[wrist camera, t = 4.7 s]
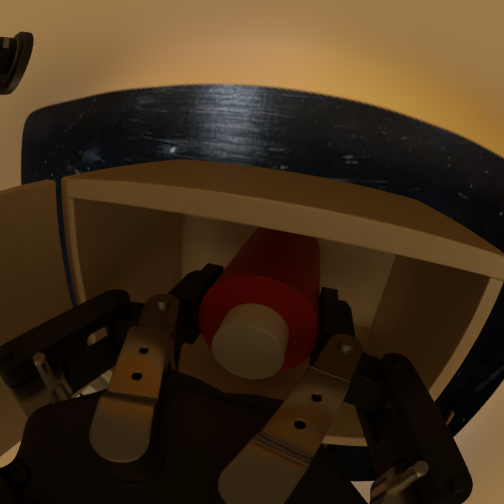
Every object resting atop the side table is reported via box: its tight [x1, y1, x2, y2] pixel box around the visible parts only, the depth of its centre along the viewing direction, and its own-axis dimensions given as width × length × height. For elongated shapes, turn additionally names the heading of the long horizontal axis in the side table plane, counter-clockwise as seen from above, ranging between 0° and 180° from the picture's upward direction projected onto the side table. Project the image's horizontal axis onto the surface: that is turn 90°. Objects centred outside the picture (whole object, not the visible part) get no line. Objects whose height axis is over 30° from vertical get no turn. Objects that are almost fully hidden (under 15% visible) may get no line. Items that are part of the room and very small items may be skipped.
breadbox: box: [61, 159, 504, 446], centre depth 14 cm, size 17×11×11 cm, turn 83°
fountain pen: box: [442, 407, 454, 425], centre depth 22 cm, size 14×1×2 cm, turn 176°
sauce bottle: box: [198, 227, 320, 379], centre depth 13 cm, size 5×5×10 cm
